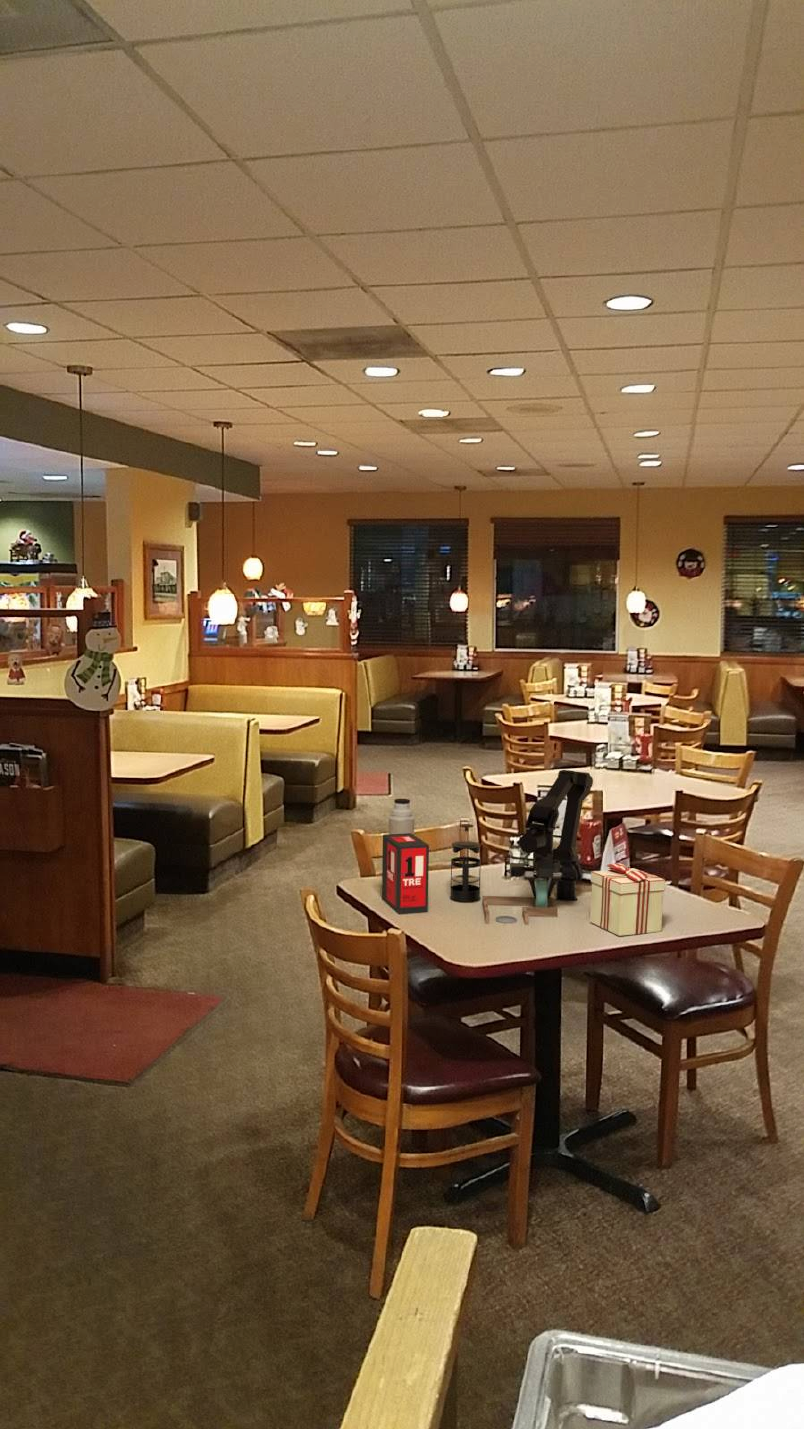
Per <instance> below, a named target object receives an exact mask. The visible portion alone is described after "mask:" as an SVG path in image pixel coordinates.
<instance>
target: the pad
mask: <svg viewBox="0 0 804 1429" xmlns="http://www.w3.org/2000/svg"><path fill="white" fill-rule="evenodd" d="M517 920H518V919H517V917H514V916H509V915H501V916H500V915H499V916H496V917H495V921H496V922H498V923H502V924H513V923H516V922H517Z"/></svg>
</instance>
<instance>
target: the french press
mask: <svg viewBox="0 0 804 1429" xmlns="http://www.w3.org/2000/svg"><path fill="white" fill-rule="evenodd" d="M459 827H461V828H464V832H465V840H461V841H460V840H459V841H456V842H455V841H454V842H452V843H451V847H452V852H453V853H455V854H457V853H459V852H461V851H462V850H465V852H464V854H465V855H464V856H457V857H453V858H451V859H450V895H449V899H450V901H452V902H456V903H463V904H469V903H470V904H472V903H477V902H480V901H481V864H482V863H481V862H482V861H481V859H480V858H477V857H472V856H468V854H467V853H468V850H470V851H472V853H475V854H479V853H480V848H481V847H482V845H481V843H479V842H476V841H468V831H469V828H474V825H473V824H470V823H462V824H460V825H459ZM460 862H461V863H460ZM469 862H472V863H469ZM453 867H455V868H460V869H461V868H462V874H457V875H456V874H455V875H453ZM474 868H479V874H478V876H479V877H478V876H476V875H473V874H471V875H470V869H474ZM452 881H453V882H454V883H457V884H454V885H453V884H452ZM475 883H478V886H477V885H474V884H475Z"/></svg>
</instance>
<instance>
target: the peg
mask: <svg viewBox="0 0 804 1429" xmlns="http://www.w3.org/2000/svg"><path fill="white" fill-rule="evenodd" d="M548 883H549V878H548V879H547V878H545V877H542V878H535V889H536V901H535V906H534V907H546V908H548V906H547V902H548Z"/></svg>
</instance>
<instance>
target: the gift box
mask: <svg viewBox="0 0 804 1429" xmlns="http://www.w3.org/2000/svg"><path fill="white" fill-rule="evenodd" d="M606 867H607V868H608V869H606V870H594V871H591V872H590V882H591V895H590V896H591V898H590V900H591V901H590V919H589V922H590V923H591V924H592V925H595V926H597V927H599V928H601V929H603V930H604V931H608V932H610V933H612V934H614V935H616V936H619V937H623V936H624V937H625V936H633V935H642V934H649V933H650V934H651V933H659V932H662V926H663V924H662V923H663V906H664V892H665V891H666V879H665V878H664V877H663V878H662V877H659V876H657V875H655V874H650V873H648V872H645V871H643V870H639V869H637V868H633V867H632V868H630V866H626V865H625V864H624V863H621V862H614V863H608V864H606Z"/></svg>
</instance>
